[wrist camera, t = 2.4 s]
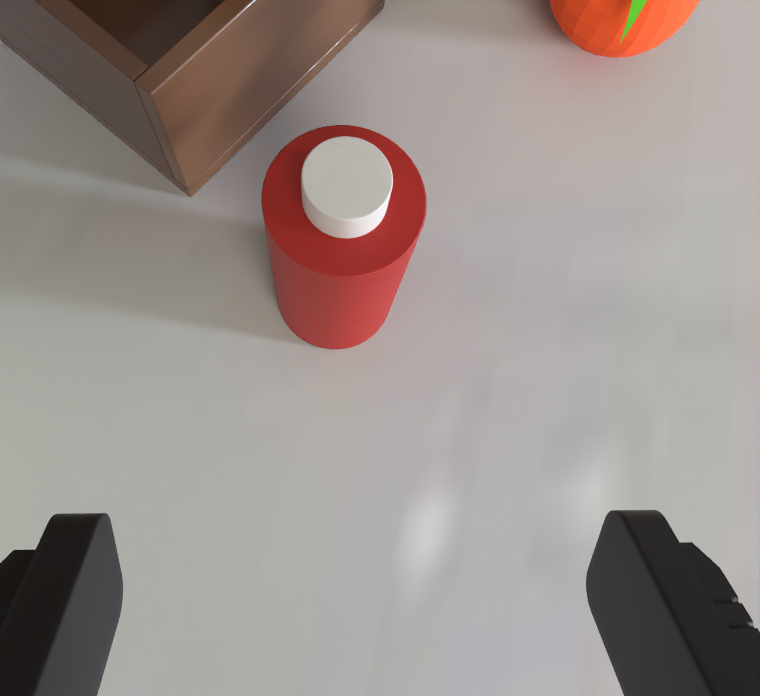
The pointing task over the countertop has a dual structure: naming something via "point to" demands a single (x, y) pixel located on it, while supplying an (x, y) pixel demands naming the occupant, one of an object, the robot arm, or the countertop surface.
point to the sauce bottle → (340, 231)
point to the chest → (182, 67)
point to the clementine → (620, 23)
